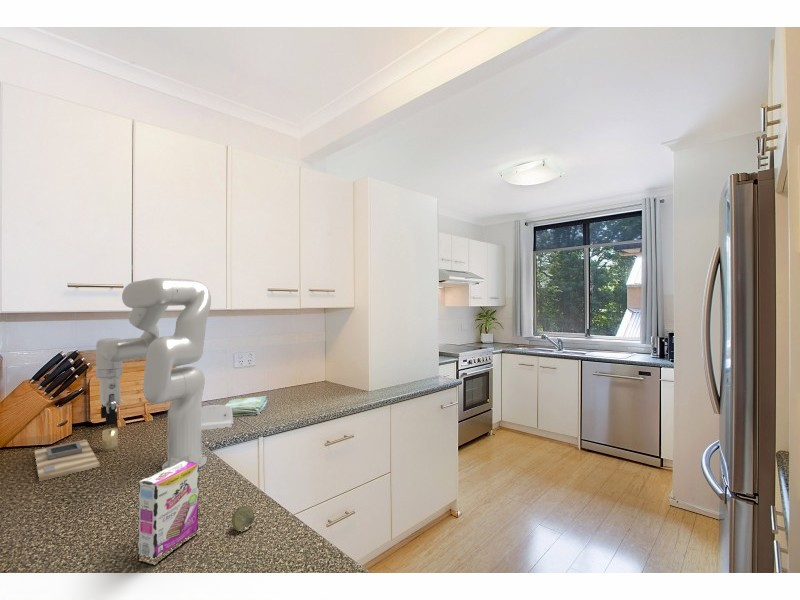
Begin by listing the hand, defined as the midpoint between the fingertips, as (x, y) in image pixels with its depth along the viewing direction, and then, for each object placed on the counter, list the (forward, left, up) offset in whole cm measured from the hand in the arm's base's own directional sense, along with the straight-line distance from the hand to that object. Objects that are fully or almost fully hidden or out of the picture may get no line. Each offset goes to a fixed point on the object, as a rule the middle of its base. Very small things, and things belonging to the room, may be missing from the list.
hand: (108, 420), depth 138 cm
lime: (-64, -54, -11) cm, 84 cm away
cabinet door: (-7, +9, -10) cm, 16 cm away
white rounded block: (+18, -30, -11) cm, 37 cm away
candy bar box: (-67, -40, -11) cm, 79 cm away
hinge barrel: (0, -1, -10) cm, 10 cm away
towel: (+40, -40, -11) cm, 58 cm away
